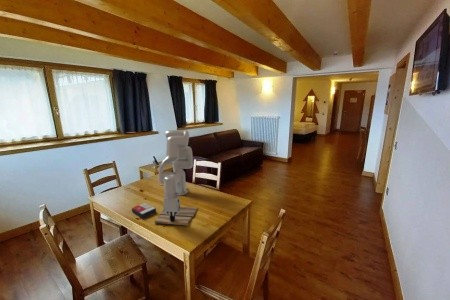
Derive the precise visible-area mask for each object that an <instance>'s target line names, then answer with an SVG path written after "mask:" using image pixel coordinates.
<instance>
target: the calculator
mask: <svg viewBox="0 0 450 300" xmlns="http://www.w3.org/2000/svg"><path fill="white" fill-rule="evenodd" d="M131 212H132V214H134V215H136V216H138V217H139V219H141V220H143V219H144V220H145V219H146V218H148V217H150V216H152V215H153V216H154V215H155V214H157V208H156V207H154V206H152V205H151V204H148V203H145V202H143V203H142V204H138V205H137V206H134V207H132V208H131Z"/></svg>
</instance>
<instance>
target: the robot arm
mask: <svg viewBox="0 0 450 300" xmlns="http://www.w3.org/2000/svg"><path fill="white" fill-rule="evenodd" d="M165 137H166V151H165V152H166V155H165V158H164V159H163V160H162V161H161V163H160V165H159V166H158V182H159V183H160V184H162V185H163V187H164V188H163V190H164V197H163V210H164V212H166V213H168V214H169V216H170V221H171V222H173V221H174V220H175V214H177V213H180V207H181V201H180V198H179V196H184V195H187V194H188V189H187V185H186V172H185V171H184V169H185V170H186V169H187V170H188V169H192V168H193V167H194V156H193V150H192V147H191V146H188V145H189V140H190V133H189V131H188V130H186V129H179V130H178V129H175V130H174V129H173V130H172V129H171V130H166V131H165ZM169 164H171V165H172V169H173V171H164V170H165V168H166V167H167V165H169ZM172 212H173V213H172Z"/></svg>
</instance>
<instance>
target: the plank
mask: <svg viewBox="0 0 450 300" xmlns="http://www.w3.org/2000/svg"><path fill="white" fill-rule="evenodd" d="M191 220H192V218H191V217H181V216H175V220H174V221H173V222H171V221H170V216H166V215H160V214H159V216H158V217H157V218H156V219H155V220H154V224H163V225H164V224H165V225H178V226H188V225H189V223H190V221H191Z"/></svg>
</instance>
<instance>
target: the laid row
mask: <svg viewBox="0 0 450 300" xmlns="http://www.w3.org/2000/svg"><path fill="white" fill-rule="evenodd" d="M197 211H198V207H193V206H180V213H177V214H175V216H181V217H191V219H194V216H195V215H196V213H197ZM172 213H173V212H172ZM160 215H166V216H169V214H168V213H166V212H164V209H162V211H161V212H160V213H159V216H160Z"/></svg>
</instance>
